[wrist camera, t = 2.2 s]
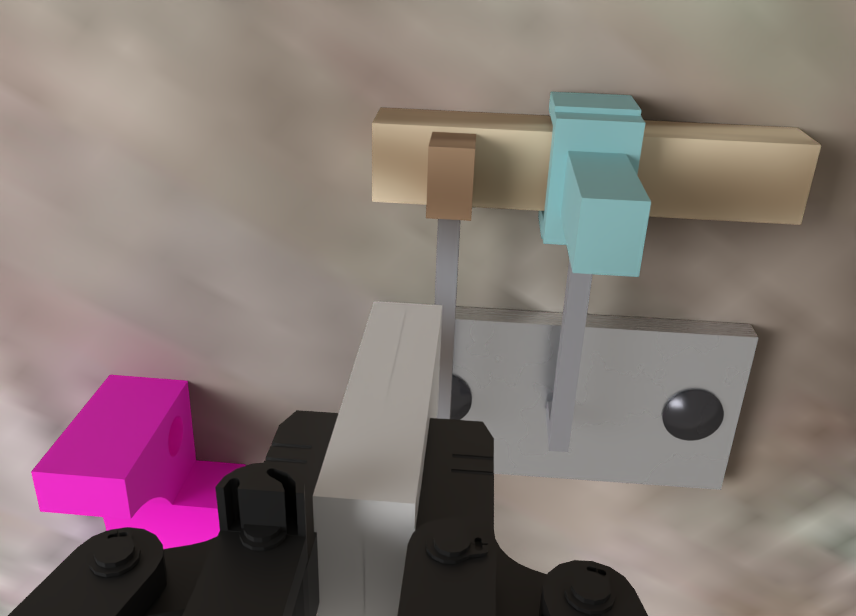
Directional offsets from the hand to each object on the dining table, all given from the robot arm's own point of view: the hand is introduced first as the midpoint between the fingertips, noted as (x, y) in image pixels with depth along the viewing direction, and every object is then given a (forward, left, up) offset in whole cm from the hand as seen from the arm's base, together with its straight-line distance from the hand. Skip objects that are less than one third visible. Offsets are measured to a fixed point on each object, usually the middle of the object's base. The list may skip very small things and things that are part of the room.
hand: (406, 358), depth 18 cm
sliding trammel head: (0, +7, -16) cm, 18 cm away
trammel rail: (0, +5, -16) cm, 17 cm away
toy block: (+19, -12, -17) cm, 28 cm away
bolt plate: (+11, +5, -16) cm, 20 cm away
